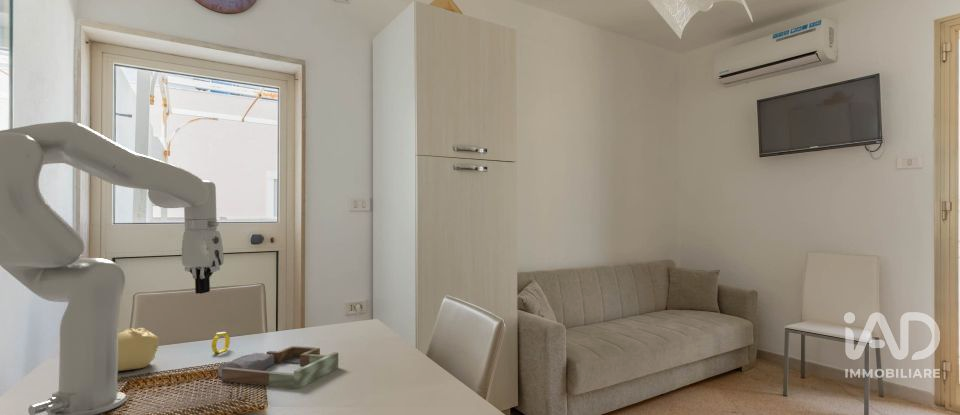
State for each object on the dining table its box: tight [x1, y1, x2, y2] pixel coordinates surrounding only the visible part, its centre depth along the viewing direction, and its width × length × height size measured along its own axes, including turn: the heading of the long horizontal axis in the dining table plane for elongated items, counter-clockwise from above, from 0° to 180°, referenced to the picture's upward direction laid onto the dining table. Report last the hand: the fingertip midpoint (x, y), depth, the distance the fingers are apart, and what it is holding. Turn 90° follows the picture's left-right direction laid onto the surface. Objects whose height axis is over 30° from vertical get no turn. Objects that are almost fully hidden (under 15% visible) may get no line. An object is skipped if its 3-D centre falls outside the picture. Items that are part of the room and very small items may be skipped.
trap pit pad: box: [281, 357, 300, 365], centre depth 129 cm, size 5×7×1 cm
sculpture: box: [118, 327, 160, 372], centre depth 124 cm, size 11×12×11 cm
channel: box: [221, 345, 339, 390], centre depth 121 cm, size 22×22×4 cm
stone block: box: [217, 352, 274, 378], centre depth 121 cm, size 12×5×10 cm
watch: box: [211, 331, 231, 354], centre depth 139 cm, size 6×3×6 cm, turn 169°
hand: (202, 292), depth 125 cm, fingers closed
